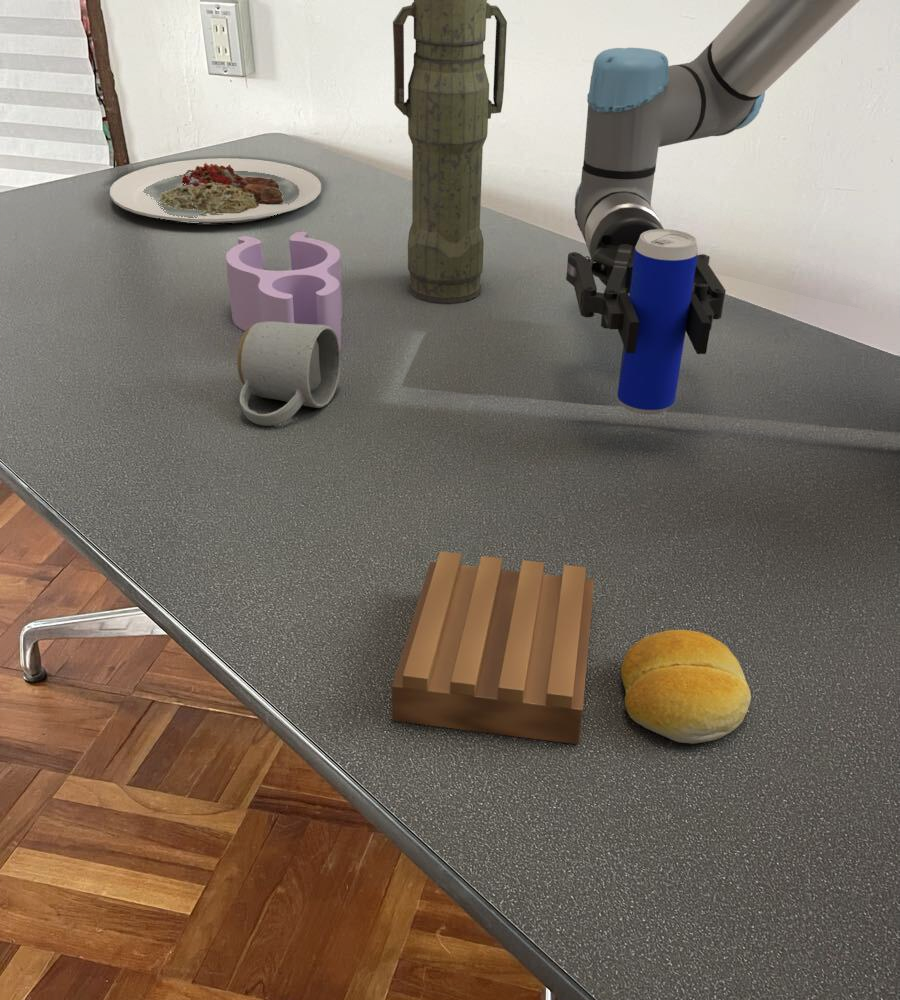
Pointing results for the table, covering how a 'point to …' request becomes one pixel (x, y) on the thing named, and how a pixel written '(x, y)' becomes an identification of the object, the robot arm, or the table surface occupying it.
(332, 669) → the table surface
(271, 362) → the ceramic mug
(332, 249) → the clip
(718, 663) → the bread roll
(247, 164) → the plated food
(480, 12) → the olive green vase
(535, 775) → the table surface
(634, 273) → the beverage can
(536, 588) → the rack
